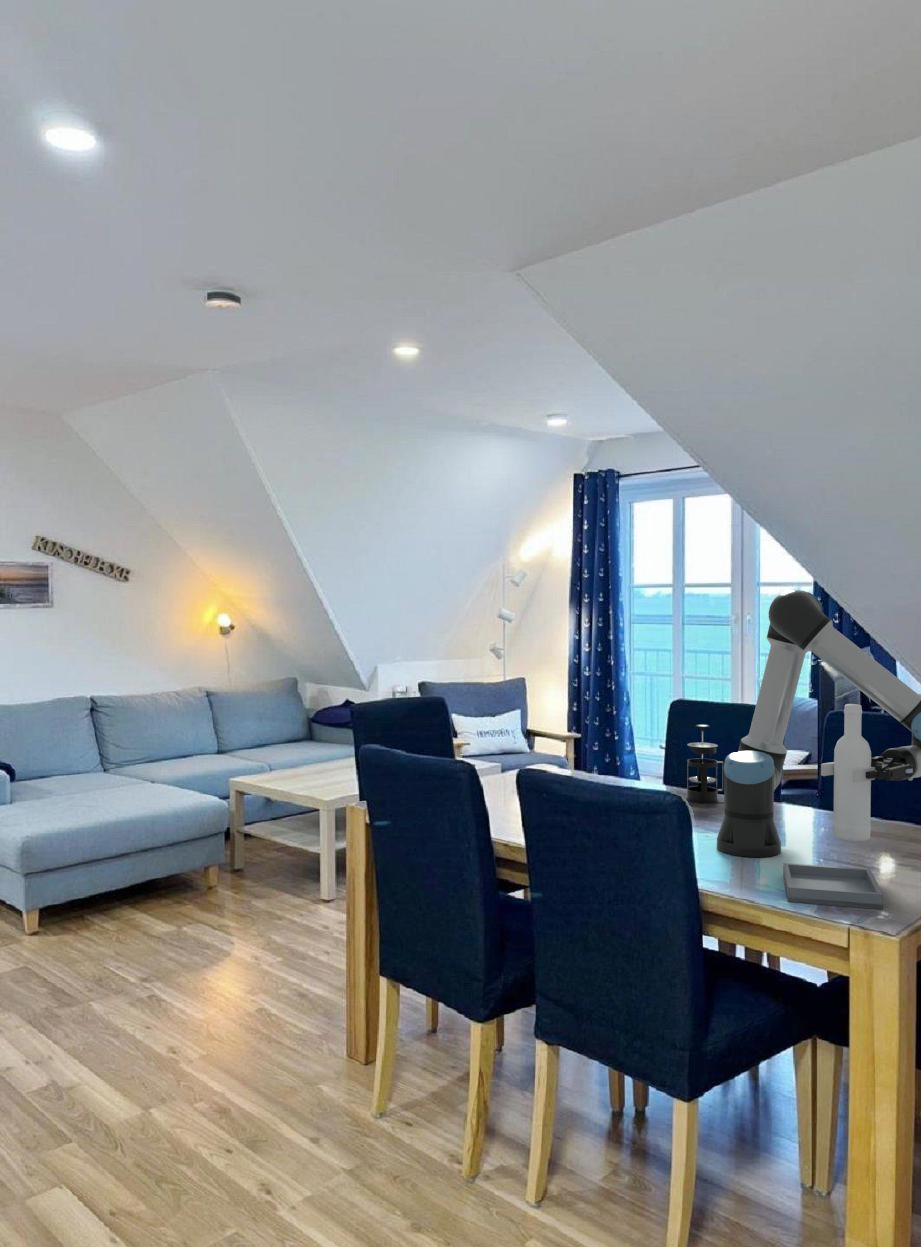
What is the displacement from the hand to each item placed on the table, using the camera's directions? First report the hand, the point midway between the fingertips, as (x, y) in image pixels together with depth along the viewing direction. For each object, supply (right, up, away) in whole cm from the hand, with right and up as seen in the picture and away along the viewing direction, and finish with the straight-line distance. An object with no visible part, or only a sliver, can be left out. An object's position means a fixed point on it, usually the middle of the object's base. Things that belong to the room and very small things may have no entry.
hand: (838, 773), depth 212 cm
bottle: (+4, -15, +3) cm, 16 cm away
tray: (-6, -23, -11) cm, 27 cm away
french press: (-10, -20, +77) cm, 80 cm away
